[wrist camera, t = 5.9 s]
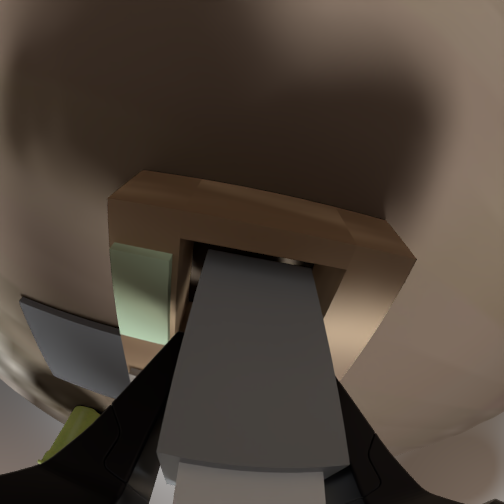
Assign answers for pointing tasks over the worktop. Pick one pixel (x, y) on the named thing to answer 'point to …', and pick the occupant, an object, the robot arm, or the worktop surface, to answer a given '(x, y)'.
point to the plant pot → (72, 429)
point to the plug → (253, 390)
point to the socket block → (249, 239)
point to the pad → (79, 349)
